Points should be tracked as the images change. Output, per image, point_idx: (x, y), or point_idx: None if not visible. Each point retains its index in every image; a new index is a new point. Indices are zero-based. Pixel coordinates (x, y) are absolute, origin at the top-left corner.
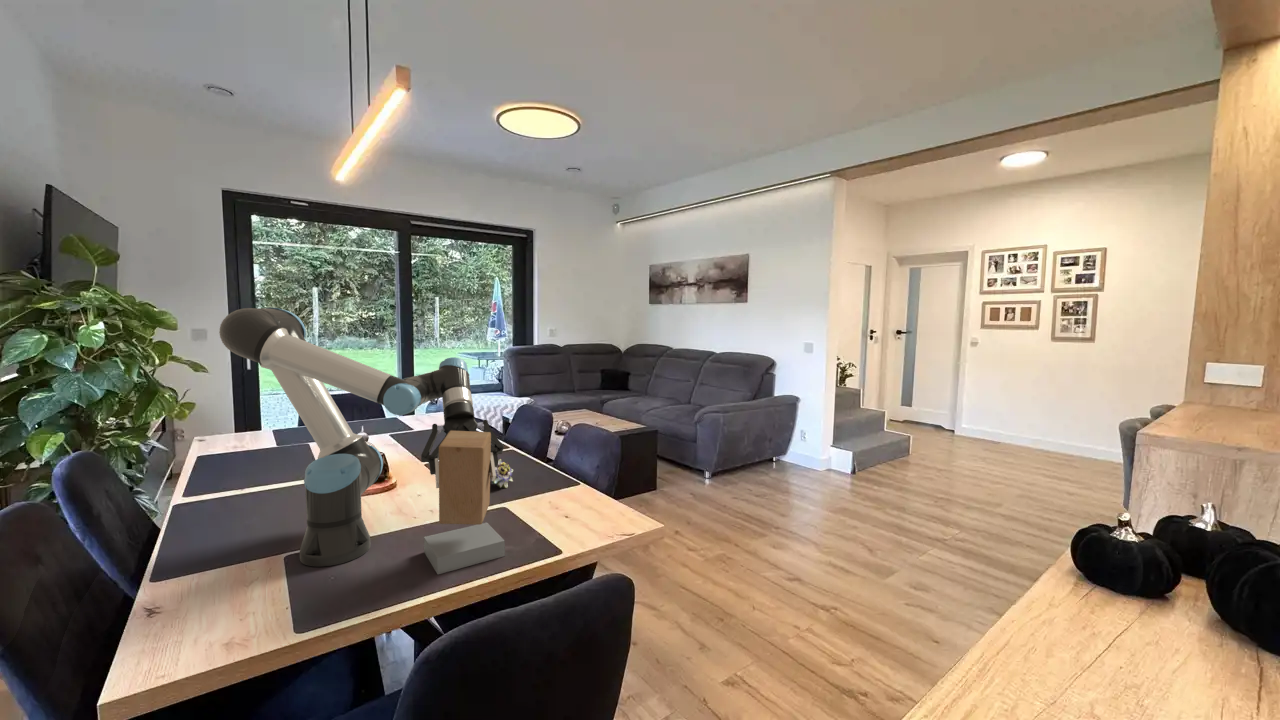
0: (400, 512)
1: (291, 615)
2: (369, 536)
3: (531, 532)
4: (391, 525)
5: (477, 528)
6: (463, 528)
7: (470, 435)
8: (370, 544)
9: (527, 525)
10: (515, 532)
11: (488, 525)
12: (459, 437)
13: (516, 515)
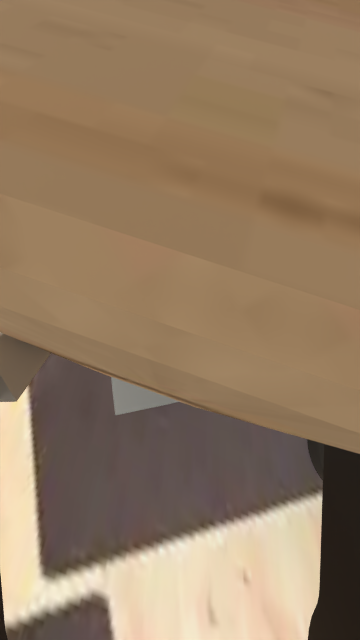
0: (278, 631)
1: None
2: (321, 453)
3: (41, 395)
4: (287, 543)
5: (138, 390)
6: (163, 401)
7: (83, 15)
8: (309, 447)
9: (35, 432)
10: (68, 407)
11: (116, 397)
12: (302, 15)
13: (37, 501)
